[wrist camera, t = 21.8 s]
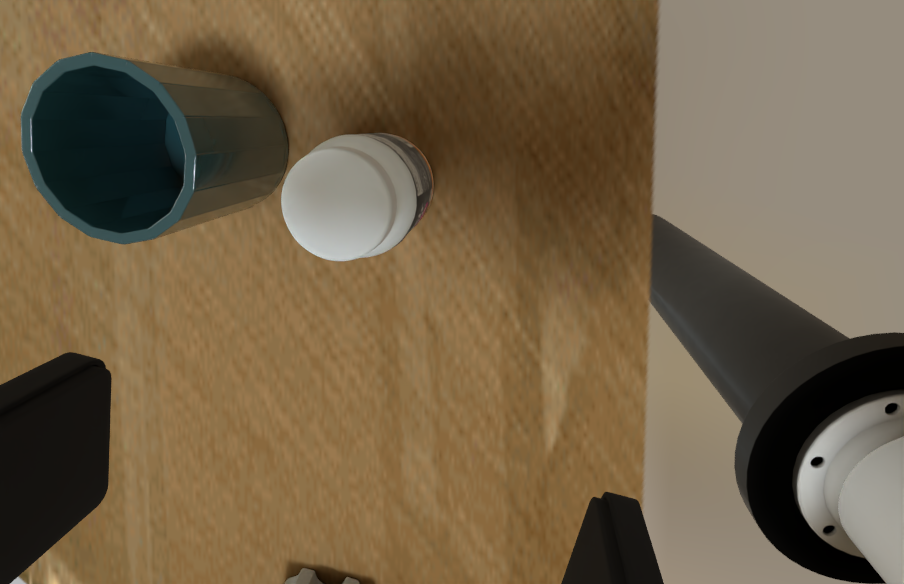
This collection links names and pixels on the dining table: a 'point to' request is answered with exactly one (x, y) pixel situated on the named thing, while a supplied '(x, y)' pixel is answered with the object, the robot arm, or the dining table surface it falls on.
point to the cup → (148, 145)
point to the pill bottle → (356, 195)
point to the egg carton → (313, 578)
